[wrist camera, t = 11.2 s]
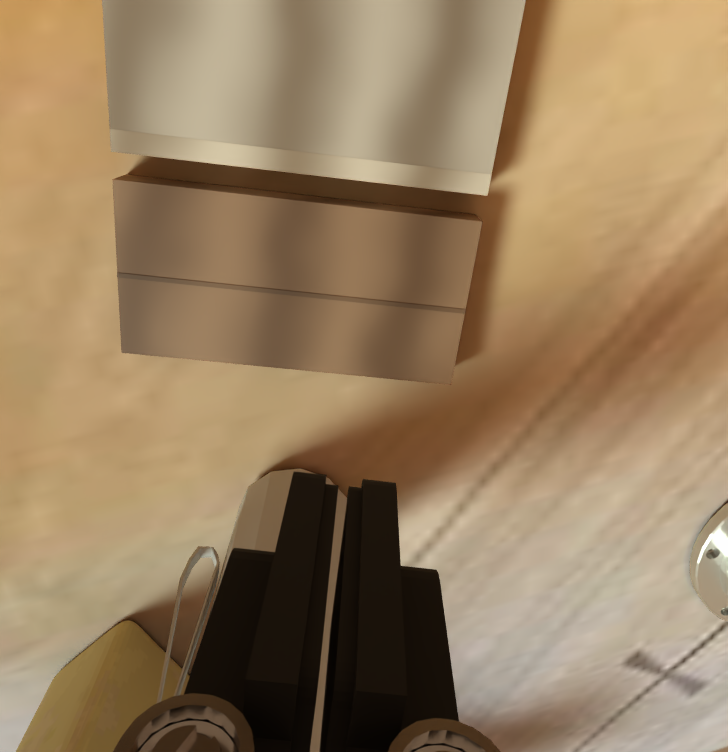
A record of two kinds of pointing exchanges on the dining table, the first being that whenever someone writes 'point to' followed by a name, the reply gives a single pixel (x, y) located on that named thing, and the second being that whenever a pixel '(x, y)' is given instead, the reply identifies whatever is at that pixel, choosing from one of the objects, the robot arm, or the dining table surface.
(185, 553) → the dining table surface
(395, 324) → the laid board
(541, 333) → the dining table surface
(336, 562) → the water bottle
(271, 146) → the board
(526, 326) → the dining table surface
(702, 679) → the dining table surface
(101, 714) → the cheese
